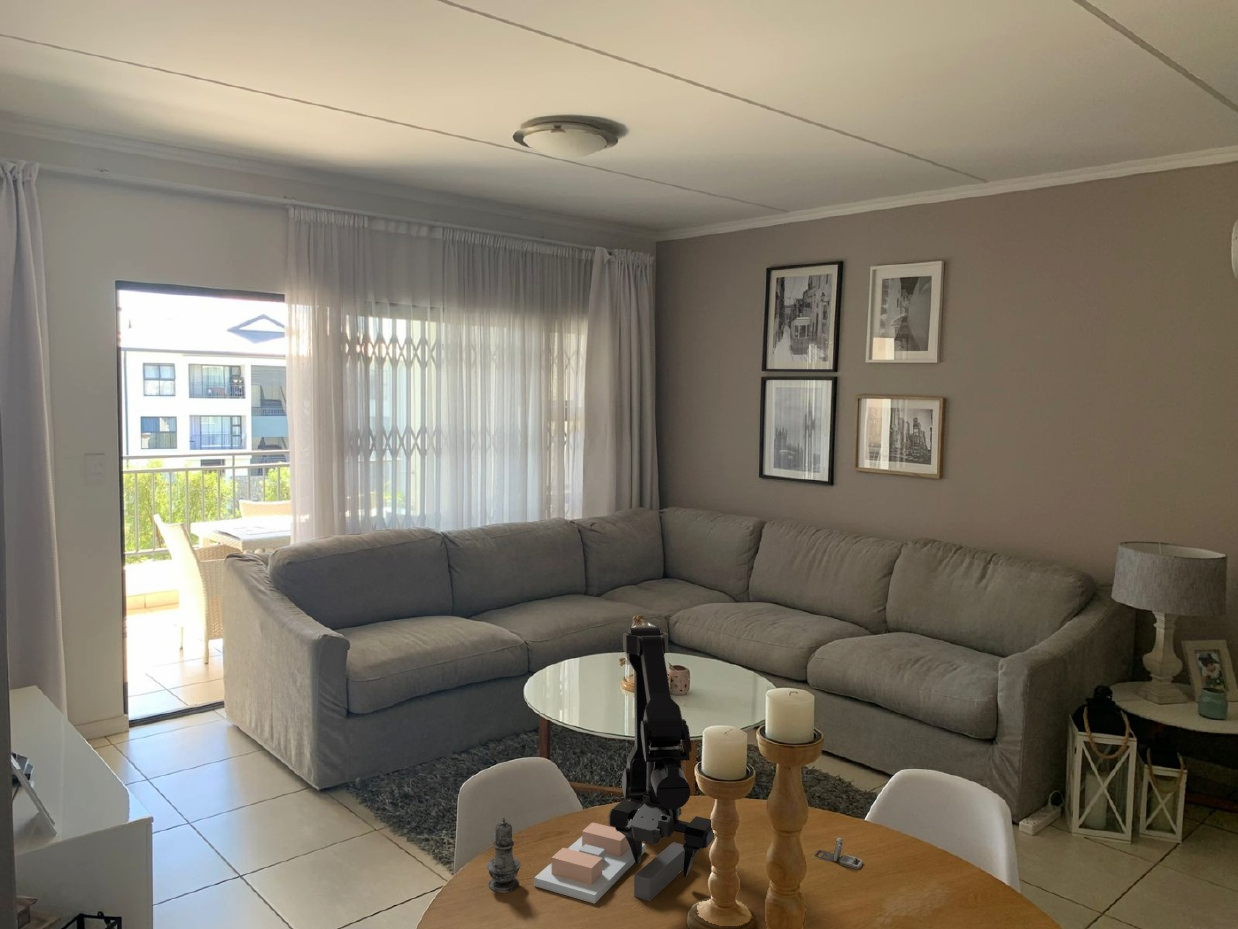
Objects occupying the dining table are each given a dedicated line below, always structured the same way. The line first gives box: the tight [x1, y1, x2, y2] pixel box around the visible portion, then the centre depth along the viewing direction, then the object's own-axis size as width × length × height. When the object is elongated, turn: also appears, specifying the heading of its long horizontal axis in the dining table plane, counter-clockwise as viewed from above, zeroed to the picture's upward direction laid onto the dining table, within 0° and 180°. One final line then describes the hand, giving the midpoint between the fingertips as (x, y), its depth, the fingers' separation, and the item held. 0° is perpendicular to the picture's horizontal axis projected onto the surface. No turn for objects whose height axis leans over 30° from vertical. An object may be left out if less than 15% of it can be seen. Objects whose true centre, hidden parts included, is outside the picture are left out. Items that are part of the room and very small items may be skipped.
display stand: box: [533, 822, 646, 905], centre depth 165 cm, size 20×12×4 cm, turn 153°
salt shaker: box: [486, 817, 522, 894], centre depth 159 cm, size 6×6×12 cm
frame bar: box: [633, 841, 685, 902], centre depth 161 cm, size 14×3×4 cm, turn 148°
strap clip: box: [813, 837, 863, 870], centre depth 169 cm, size 8×3×4 cm, turn 58°
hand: (661, 869), depth 161 cm, fingers open, 9 cm apart
